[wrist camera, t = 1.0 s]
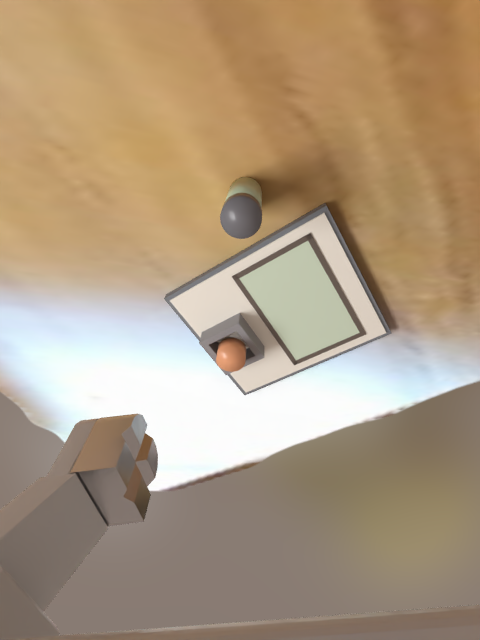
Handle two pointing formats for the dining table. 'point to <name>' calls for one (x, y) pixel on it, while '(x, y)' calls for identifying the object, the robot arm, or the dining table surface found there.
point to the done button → (231, 354)
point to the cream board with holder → (283, 302)
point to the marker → (242, 208)
